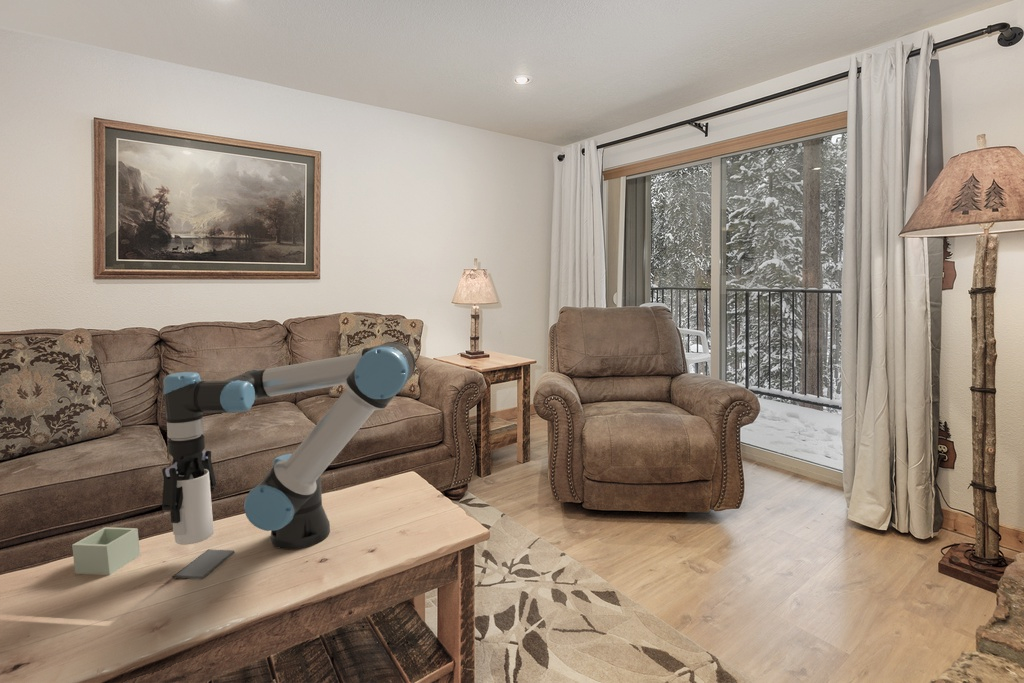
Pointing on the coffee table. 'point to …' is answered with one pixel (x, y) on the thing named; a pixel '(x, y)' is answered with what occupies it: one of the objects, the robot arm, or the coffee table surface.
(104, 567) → the planter
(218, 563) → the coaster
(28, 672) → the coffee table surface
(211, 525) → the cup
